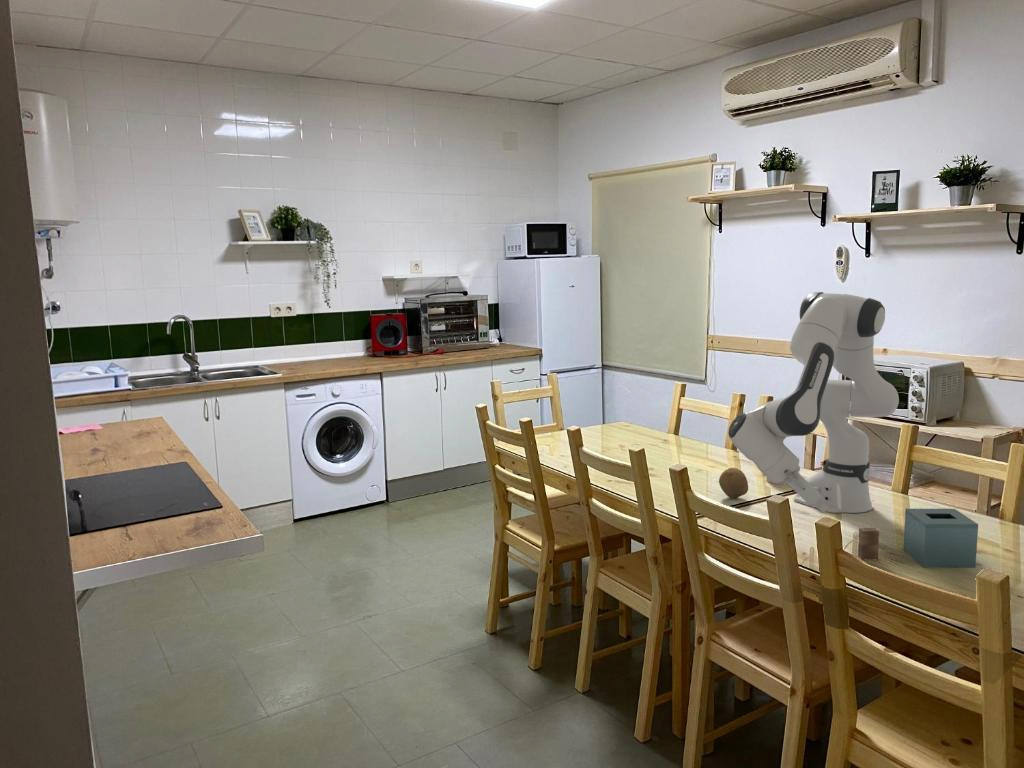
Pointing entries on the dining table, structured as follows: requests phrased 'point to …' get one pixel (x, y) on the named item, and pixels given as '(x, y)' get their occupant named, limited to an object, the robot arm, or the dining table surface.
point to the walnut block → (868, 543)
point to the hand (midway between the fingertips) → (820, 503)
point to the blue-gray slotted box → (940, 538)
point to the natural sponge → (733, 483)
